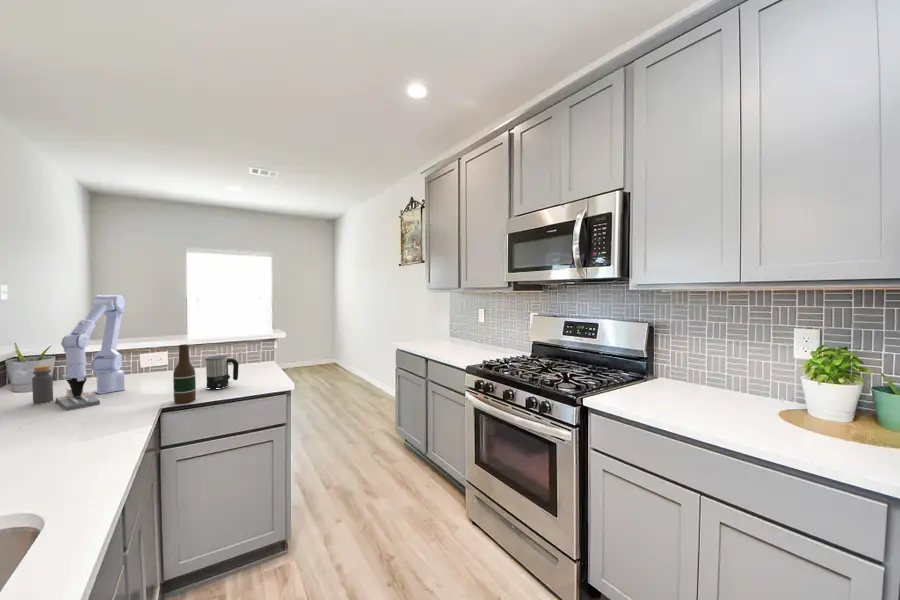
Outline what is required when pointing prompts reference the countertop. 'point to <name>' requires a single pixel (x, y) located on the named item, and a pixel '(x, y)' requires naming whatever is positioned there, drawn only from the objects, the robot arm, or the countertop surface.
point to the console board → (77, 401)
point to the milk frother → (219, 371)
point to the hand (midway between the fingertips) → (77, 395)
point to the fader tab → (69, 392)
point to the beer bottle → (184, 378)
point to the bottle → (42, 385)
